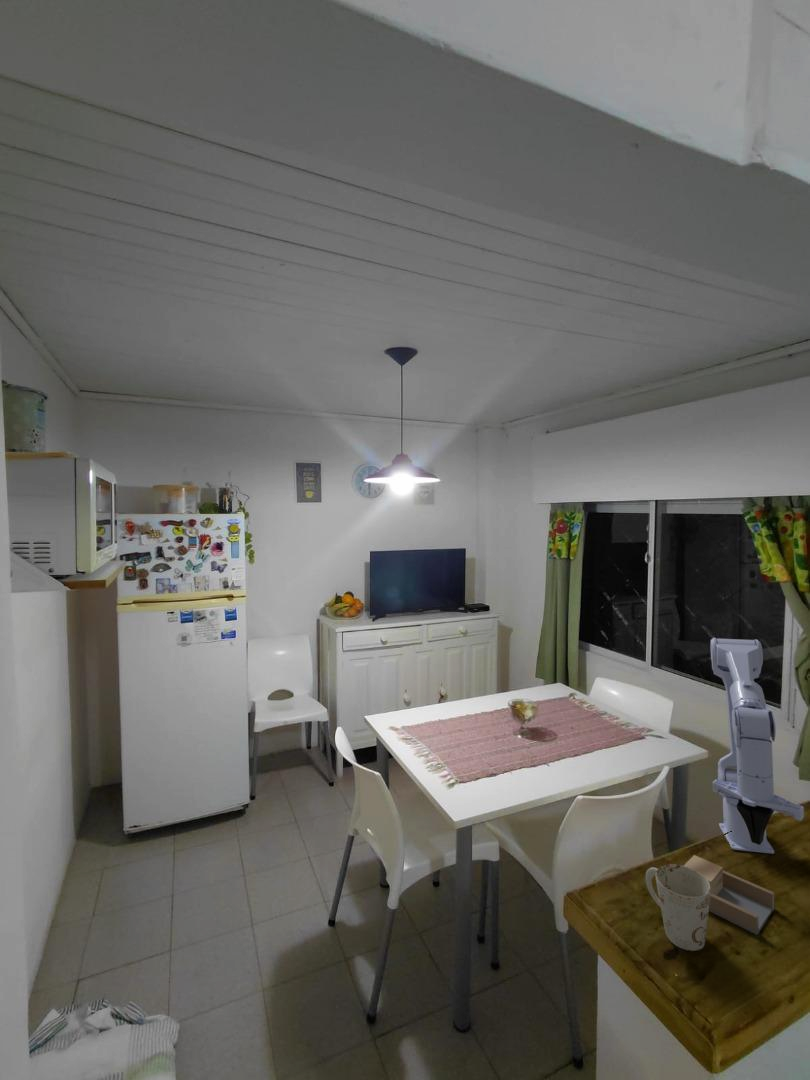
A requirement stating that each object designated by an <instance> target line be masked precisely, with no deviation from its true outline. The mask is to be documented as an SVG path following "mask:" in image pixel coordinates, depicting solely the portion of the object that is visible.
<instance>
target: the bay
mask: <svg viewBox="0 0 810 1080" xmlns="http://www.w3.org/2000/svg"><path fill="white" fill-rule="evenodd" d="M692 857H693V856H692ZM692 857H690V859H691V858H692ZM722 873H723V889H722V890H721V891H720V892H719V894H718V895H717V896H716V895H714V894H712V893H711V894H710V903H709V912H710V913H713V914H714V915H717V916H718V917H720V918H722V919H723V920H726V921H728V922H730V923H732V924H734V925H737V926H739V927H741V928H743V929H744V930H747V931H748V932H749V933H752V934H754V935H757V936H758V935H759V933H760V931H761V930H762V929H763V927H764V926H765V924H766V922H768V919H769V918H770V916H771V914H772V913H773V911H774V910H775V893H774V891H772V890H770V889H767V888H765V887H762V886H760V885H759V884H756V883H753V882H752V881H749V880H747V879H744V878H742V877H739V876H737V875H736V874H733V873H731V872H728V871H726V870H724V869H723V871H722Z"/></svg>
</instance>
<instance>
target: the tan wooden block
mask: <svg viewBox="0 0 810 1080" xmlns="http://www.w3.org/2000/svg"><path fill="white" fill-rule="evenodd" d="M683 866H686V867H689V868H691V869H693V870H695V871H697V872H699V873H700V874H702V875H703V876H704V877H705V878H706V879H707V880H708V882H709V884H710V887H711V893H712V894H714V895H716V896H717V895H718V894H719V892H720V891H721V890H722V889H723V873H722V871H723V870H724V867H723V866H722V865H721V866H720V865H718V864H716V863H713V862H712V861H709V860H707V859H705V858H703V857H699V856H698V855H695V854H693V855H692V858H691V857H690V859H688V860H687V861H686V862H685V864H683Z"/></svg>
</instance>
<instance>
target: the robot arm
mask: <svg viewBox="0 0 810 1080" xmlns="http://www.w3.org/2000/svg"><path fill="white" fill-rule="evenodd" d="M710 658H711V670H712V671H713V675H714V676H717V677H718V678H720V679H722V682H723V684H724V687H725V693H726V694H725V696H726V707H727V717H728V718H727V720H728V731H729V732H728V733H729V747H730V753H728V754H726V755H724V756H723V757H721V758H720V759H719V760H718V761H717V779H714V780H713V781H712V782H711V785H712V786H711V787H712V789H711V790H712V792H713V793H715V794H719V795H720V796H721V798H722V813H723V822H719V823H718V826H719V828H720V830H721V831H722V834H723V835H724V834H725V833H727V832H729V833H728V834H726V835H724V837H725V839H726V841H727V843H728V842H729V843H728V844H730V845H729V846H730V848H731V849H732V850H736V851H741V852H742V851H743V852H753V853H754V852H755V853H762V854H775V850H774V849H773V847H772V845H771V843H770V842H769V841H768V839H767V825H768V823H769V821H770V819H771V817H772V815H773V814H774V812H776V813H777V812H778V813H781V814H784V815H786V816H789V817H793V819H794V820H796V821H800V822H801V821H802V820H803V819H804V818H805V808H804V806H803V805H800V804H797V803H794V802H793V801H790V800H788V799H787V798H784V797H782V796H779V795H778V794H775V791H774V790H775V789H774V787H775V785H774V767H773V766H774V765H773V763H774V762H773V742H775V740H776V734H777V732H776V731H777V730H776V729H777V728H776V721H775V717H774V713H773V710H772V708H770V706H769V705H767V703H766V699H765V694H764V691H763V688H762V686H761V685H760V684H758V683H757V682H755V679H758V678H760V674H761V671H762V667H763V663H764V651H763V646H762V643H761V641H759V640H758V639H737V638H736V639H735V638H734V639H733V638H716V637H712V638H711V639H710ZM733 768H736V769H733ZM730 831H732V832H730Z"/></svg>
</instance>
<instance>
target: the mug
mask: <svg viewBox="0 0 810 1080" xmlns="http://www.w3.org/2000/svg"><path fill="white" fill-rule="evenodd" d="M654 877H655V881H656V882H655V883H656V887H657V893H656V891H655V889H654V887H653V883H652V880H653V878H654ZM645 884H646V887H647V890H648V892H649V893H650V895H651V898H653V900H654V902H655V904H656V905H657V906H658V907H660V910H661V911H660V912H661V916H662V923H663V927H664V932H665V935H666V938H667V939H668V941H670V942H671V943H672V944H673V945H674V946H676V947H678V948H680V949H683V950H685V951H689V950H690V951H691V952H694V951H696V952H697V951H699V950H702V949H703V948H704V947H705V944H706V938H707V937H706V936H707V928H708V919H709V912H710V911H709V903H710V894H711V887H710V884H709V882H708V880H707V879H706V878H705V877H704V876H703V875H702V874H700V873H699V872H697V871H695V870H693V869H691V868H689V867H686V866H684V865H680V864H674V863H672V864H671V863H670V864H664V865H661V866H660V867H658V868H657V867H650V868H648V869H647V870H646V872H645ZM657 894H658V895H657Z"/></svg>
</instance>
